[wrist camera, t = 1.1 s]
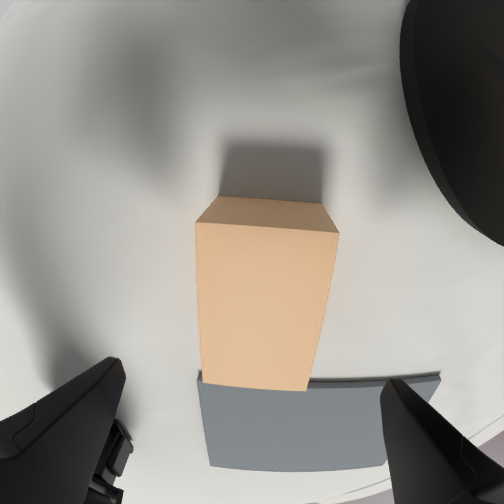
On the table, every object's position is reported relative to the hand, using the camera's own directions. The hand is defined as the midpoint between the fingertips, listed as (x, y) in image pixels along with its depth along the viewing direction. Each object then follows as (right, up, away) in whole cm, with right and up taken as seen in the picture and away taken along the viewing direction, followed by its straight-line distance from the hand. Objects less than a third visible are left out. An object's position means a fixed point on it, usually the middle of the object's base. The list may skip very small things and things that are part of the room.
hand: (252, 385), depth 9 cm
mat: (+5, -11, +12) cm, 17 cm away
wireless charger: (+16, +13, +2) cm, 21 cm away
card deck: (+1, +3, +7) cm, 8 cm away
